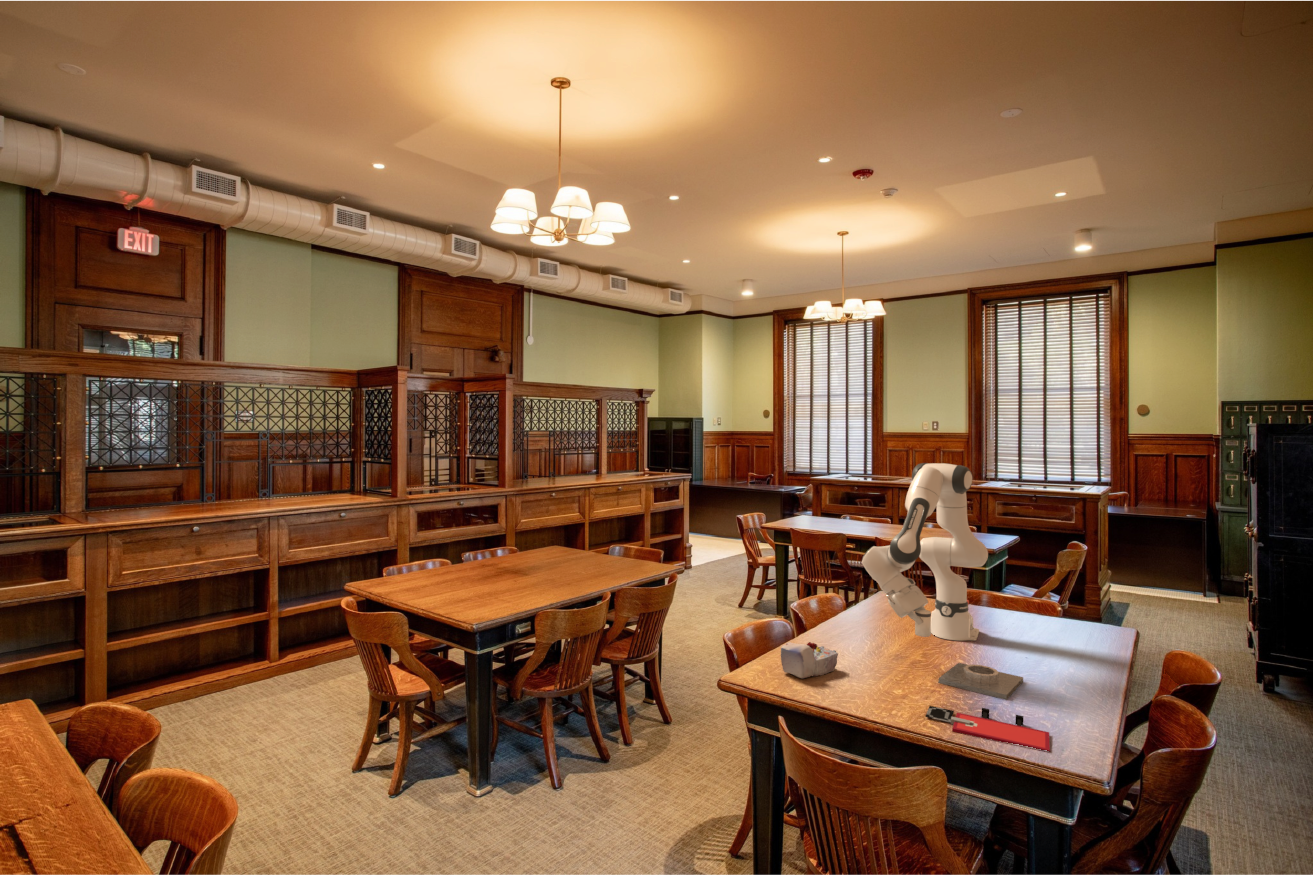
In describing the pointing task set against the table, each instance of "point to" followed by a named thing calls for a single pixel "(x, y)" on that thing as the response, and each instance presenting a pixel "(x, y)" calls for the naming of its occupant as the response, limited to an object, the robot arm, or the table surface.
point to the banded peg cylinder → (925, 627)
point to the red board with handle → (992, 728)
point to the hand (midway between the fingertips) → (924, 621)
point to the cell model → (807, 659)
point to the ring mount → (981, 680)
